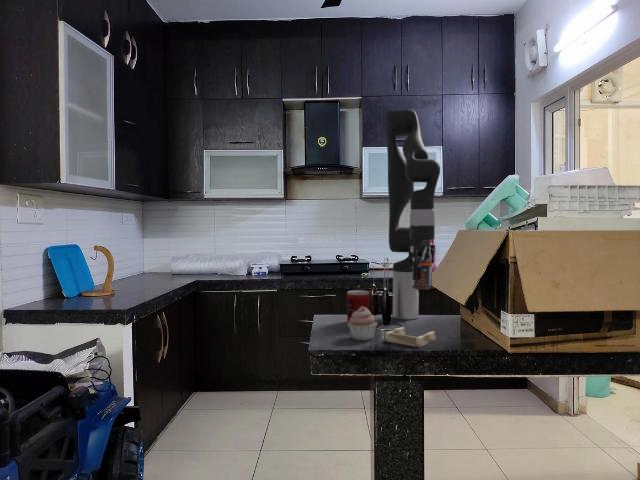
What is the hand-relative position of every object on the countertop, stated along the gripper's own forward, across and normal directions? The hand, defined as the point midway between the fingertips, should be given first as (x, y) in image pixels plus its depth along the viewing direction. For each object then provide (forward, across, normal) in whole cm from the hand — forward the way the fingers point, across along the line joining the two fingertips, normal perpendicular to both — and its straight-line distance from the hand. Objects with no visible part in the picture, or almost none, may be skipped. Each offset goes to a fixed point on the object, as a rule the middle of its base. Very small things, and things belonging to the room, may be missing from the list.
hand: (421, 278), depth 155 cm
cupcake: (+18, +13, -13) cm, 26 cm away
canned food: (+18, -6, -27) cm, 33 cm away
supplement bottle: (+3, 0, 0) cm, 3 cm away
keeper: (+18, +6, 0) cm, 19 cm away
